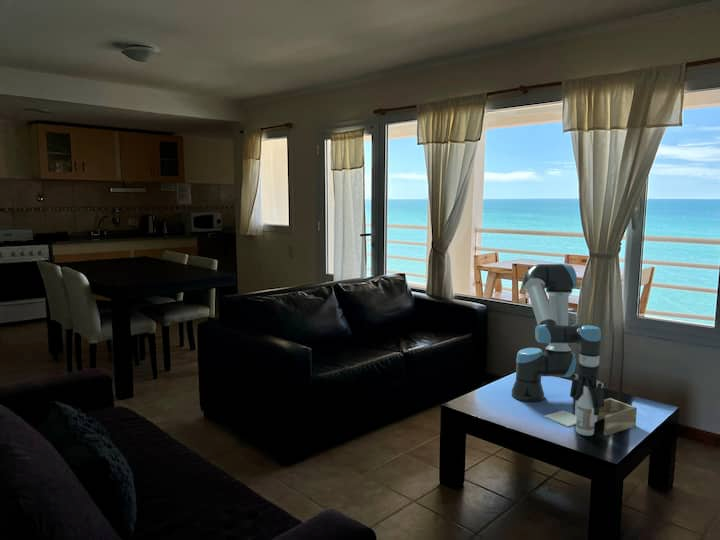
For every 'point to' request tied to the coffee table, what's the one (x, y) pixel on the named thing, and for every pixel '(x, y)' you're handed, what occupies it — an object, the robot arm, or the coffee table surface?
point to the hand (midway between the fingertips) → (585, 418)
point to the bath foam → (584, 414)
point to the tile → (563, 418)
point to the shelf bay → (617, 416)
